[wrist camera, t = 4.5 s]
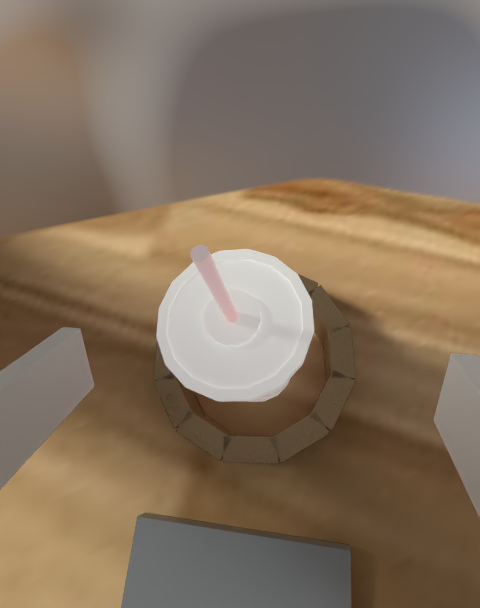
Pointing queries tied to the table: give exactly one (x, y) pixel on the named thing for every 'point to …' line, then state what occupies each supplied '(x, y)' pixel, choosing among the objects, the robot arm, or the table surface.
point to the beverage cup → (235, 325)
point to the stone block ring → (292, 439)
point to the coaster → (232, 568)
